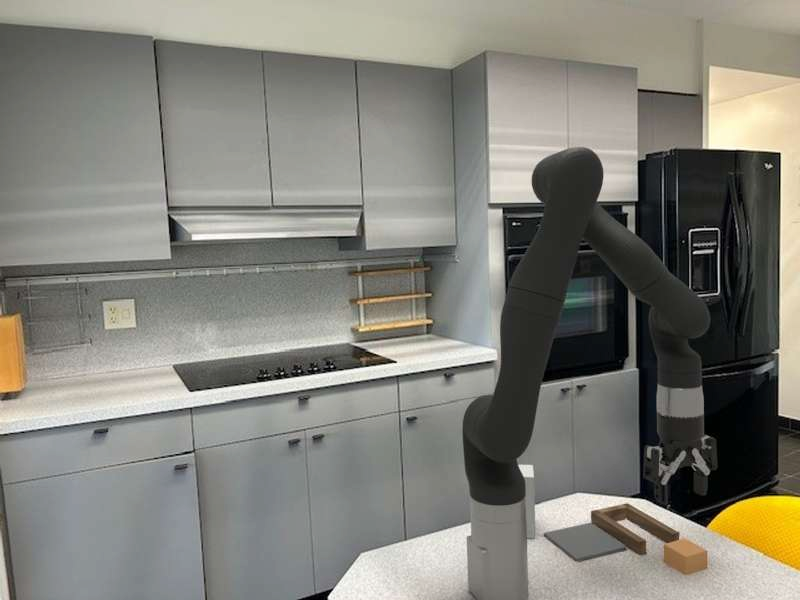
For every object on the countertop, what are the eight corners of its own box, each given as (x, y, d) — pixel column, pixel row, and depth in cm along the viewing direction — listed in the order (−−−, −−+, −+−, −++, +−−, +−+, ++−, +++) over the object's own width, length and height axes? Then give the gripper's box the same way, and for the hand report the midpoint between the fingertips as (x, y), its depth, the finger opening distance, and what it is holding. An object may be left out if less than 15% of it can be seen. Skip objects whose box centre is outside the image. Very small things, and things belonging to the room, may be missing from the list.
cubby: (639, 555, 113) (639, 542, 113) (591, 522, 127) (590, 511, 126) (679, 545, 116) (679, 532, 116) (627, 514, 130) (627, 503, 129)
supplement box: (535, 539, 121) (534, 477, 120) (498, 537, 122) (496, 476, 121) (535, 522, 128) (533, 464, 127) (499, 520, 129) (497, 463, 128)
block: (685, 576, 106) (685, 556, 105) (663, 562, 110) (663, 544, 110) (707, 569, 107) (707, 550, 107) (684, 556, 112) (684, 538, 112)
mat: (576, 561, 111) (576, 558, 111) (543, 535, 122) (543, 532, 122) (626, 549, 115) (626, 546, 115) (590, 525, 125) (590, 522, 125)
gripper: (695, 399, 113) (696, 484, 114) (631, 410, 108) (633, 498, 110) (729, 408, 106) (729, 499, 107) (662, 420, 101) (664, 514, 103)
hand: (681, 498), depth 108 cm, fingers open, 8 cm apart
